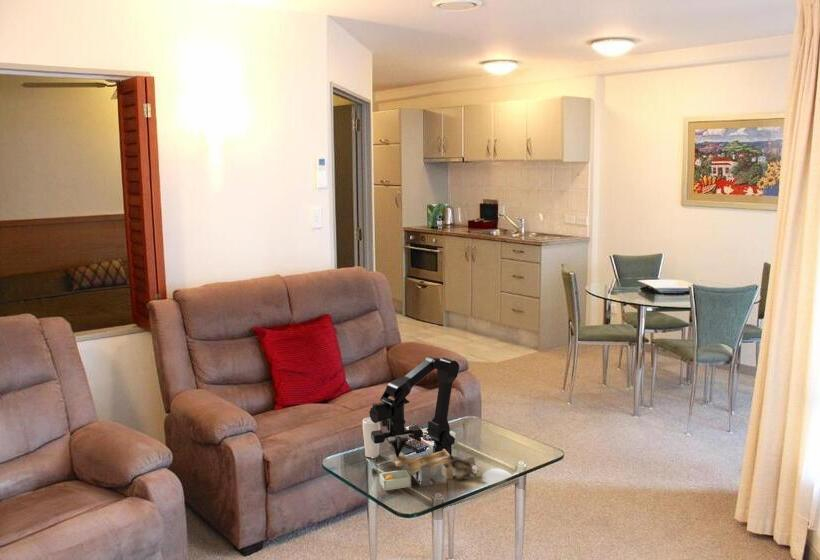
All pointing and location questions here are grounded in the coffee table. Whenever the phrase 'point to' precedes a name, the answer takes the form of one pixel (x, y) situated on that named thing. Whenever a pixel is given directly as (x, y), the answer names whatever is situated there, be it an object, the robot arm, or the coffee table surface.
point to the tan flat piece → (421, 460)
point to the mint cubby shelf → (395, 480)
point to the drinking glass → (370, 446)
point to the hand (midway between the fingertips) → (397, 455)
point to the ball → (389, 477)
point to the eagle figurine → (466, 467)
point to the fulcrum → (424, 474)
